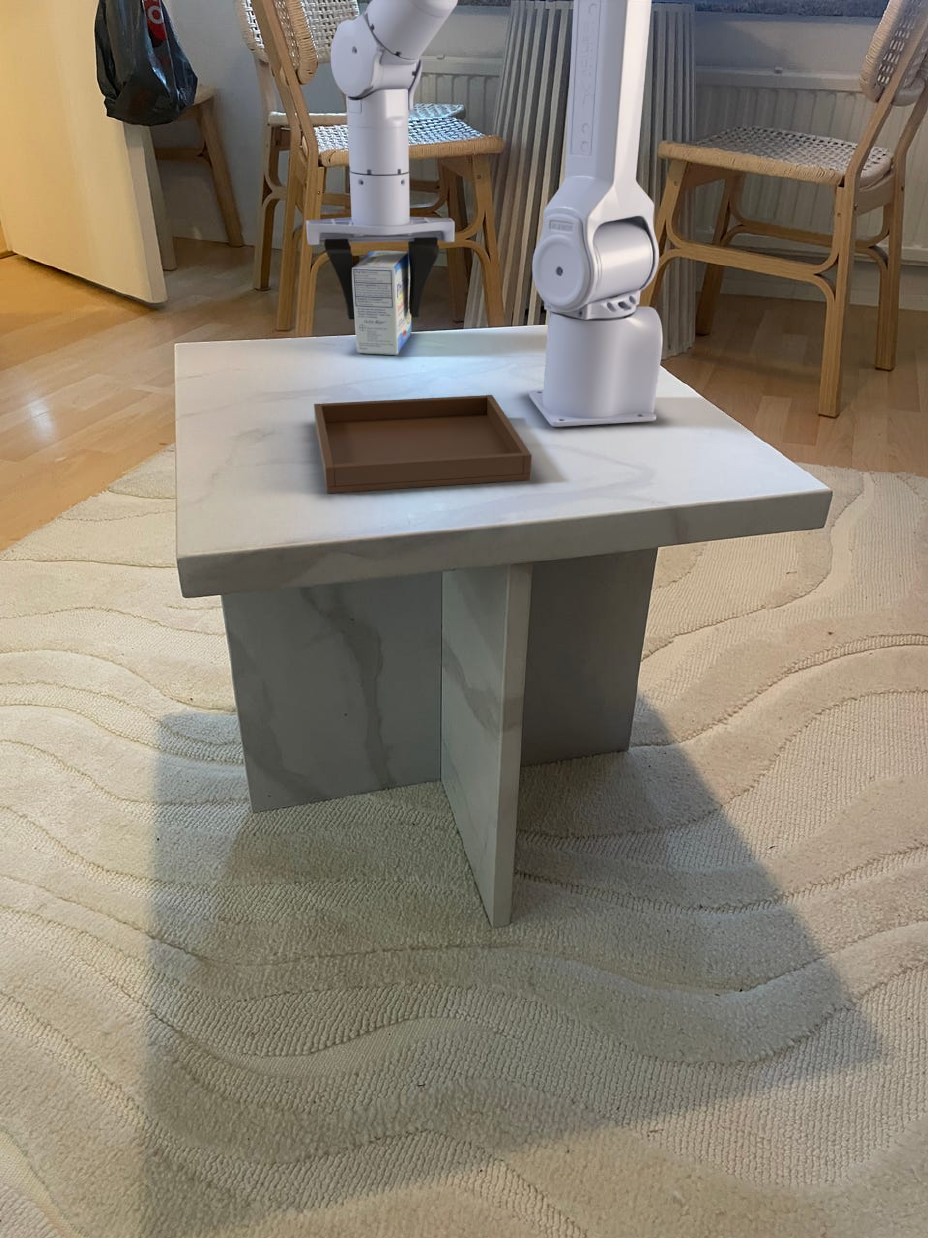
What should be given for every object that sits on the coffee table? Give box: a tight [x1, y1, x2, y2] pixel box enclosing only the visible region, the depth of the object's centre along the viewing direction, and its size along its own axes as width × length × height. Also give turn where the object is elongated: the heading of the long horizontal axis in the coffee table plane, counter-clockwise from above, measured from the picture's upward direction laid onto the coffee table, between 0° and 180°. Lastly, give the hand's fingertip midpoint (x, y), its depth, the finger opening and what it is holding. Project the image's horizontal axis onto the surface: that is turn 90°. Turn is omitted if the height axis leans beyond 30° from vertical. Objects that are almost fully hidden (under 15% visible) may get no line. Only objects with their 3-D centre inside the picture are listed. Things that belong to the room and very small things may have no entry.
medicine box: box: [352, 250, 412, 356], centre depth 94 cm, size 8×4×9 cm, turn 172°
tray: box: [313, 394, 533, 494], centre depth 72 cm, size 15×13×2 cm
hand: (383, 315), depth 95 cm, fingers closed on medicine box, 6 cm apart
